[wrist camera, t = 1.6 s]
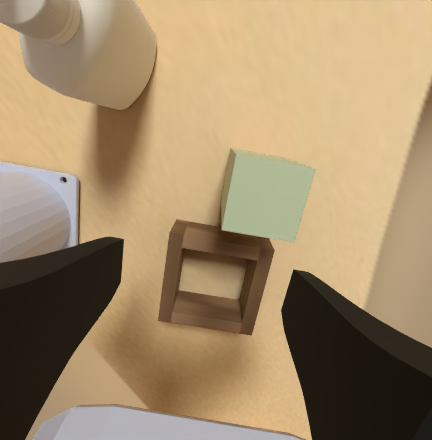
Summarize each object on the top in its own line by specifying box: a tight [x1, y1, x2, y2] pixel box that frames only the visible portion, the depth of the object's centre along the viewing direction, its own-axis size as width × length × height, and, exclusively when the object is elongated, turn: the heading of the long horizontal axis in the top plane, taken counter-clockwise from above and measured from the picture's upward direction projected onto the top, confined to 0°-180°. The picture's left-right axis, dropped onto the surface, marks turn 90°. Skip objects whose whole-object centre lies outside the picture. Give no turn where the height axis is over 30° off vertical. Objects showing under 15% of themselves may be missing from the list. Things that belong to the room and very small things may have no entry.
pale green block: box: [221, 148, 316, 242], centre depth 17 cm, size 4×4×7 cm
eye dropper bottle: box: [0, 0, 157, 110], centre depth 12 cm, size 4×6×12 cm
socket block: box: [158, 220, 274, 335], centre depth 21 cm, size 8×8×3 cm
